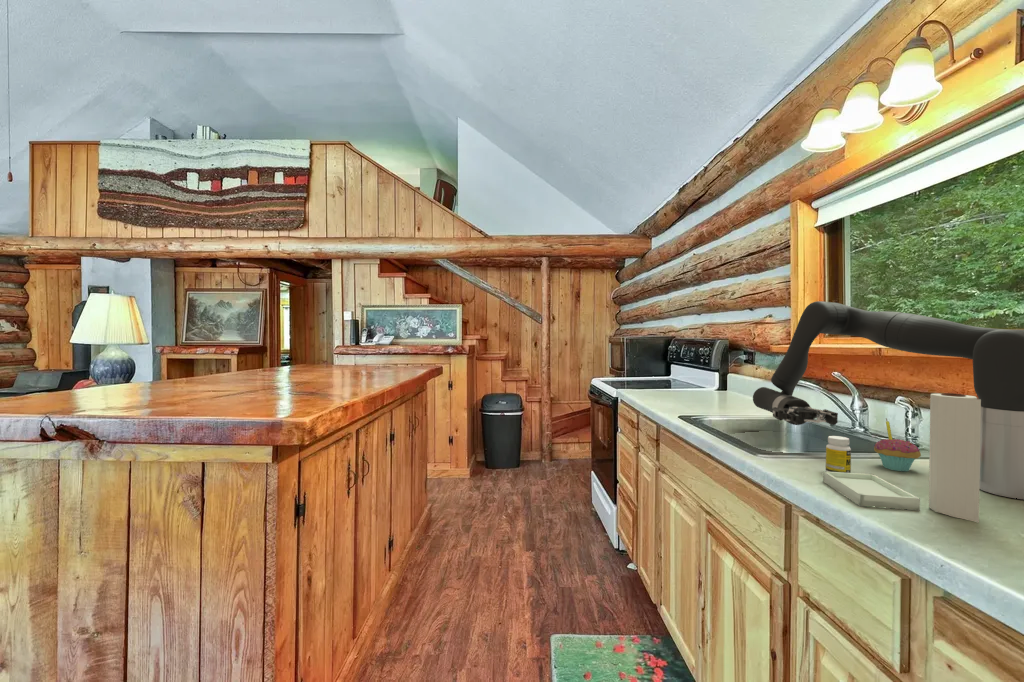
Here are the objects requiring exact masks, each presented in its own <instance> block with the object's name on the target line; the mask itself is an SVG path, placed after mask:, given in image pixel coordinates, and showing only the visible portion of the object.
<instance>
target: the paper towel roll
mask: <svg viewBox="0 0 1024 682" xmlns="http://www.w3.org/2000/svg"><path fill="white" fill-rule="evenodd" d="M929 398H930V400H929V401H930V402H929V407H930V408H929V411H930V413H929V459H928V460H929V466H928V467H929V470H928V471H929V472H928V477H929V479H928V507H929V509H931V510H932V511H933V512H936V513H939V514H942V515H946V516H950V517H952V518H956V519H957V518H958V519H963V520H967V521H972V522H975V523H977V524H978V523H980V489H979V483H980V420H981V399H979V398H978V396H975V395H967V394H961V393H953V392H952V393H951V392H947V393H946V392H945V393H944V392H943V393H938V392H937V393H930V397H929Z"/></svg>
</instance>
